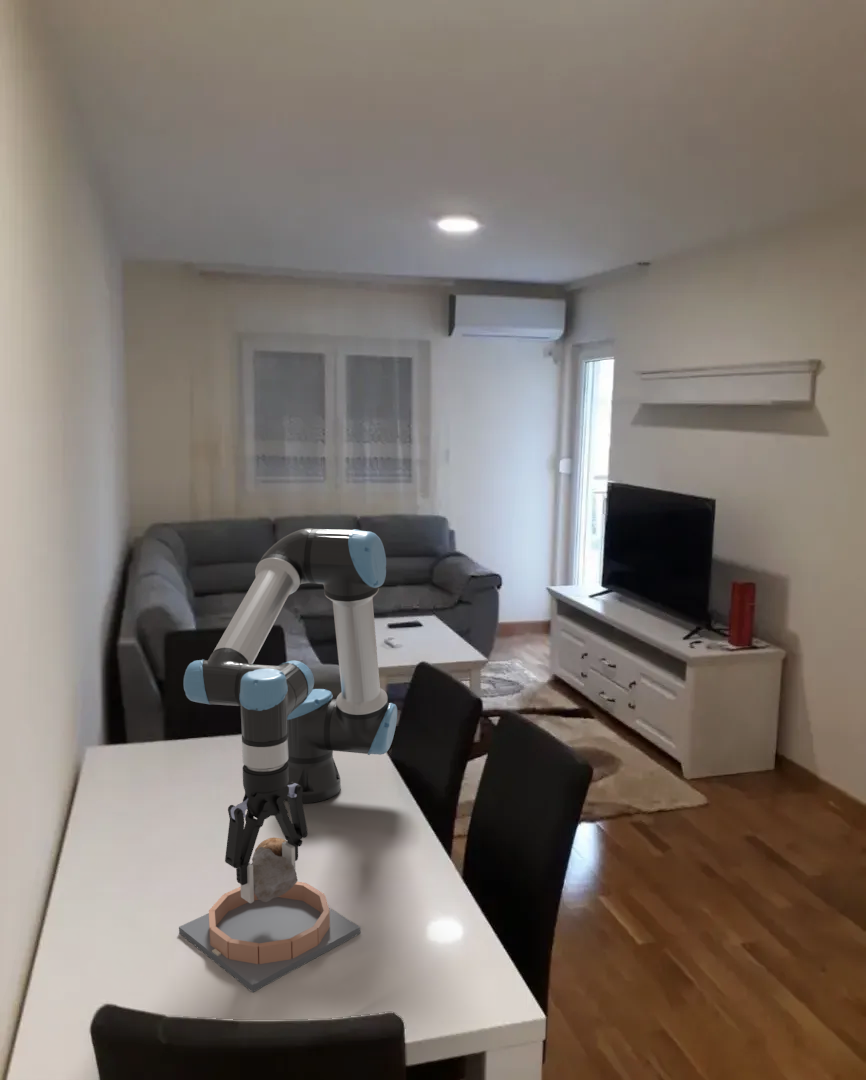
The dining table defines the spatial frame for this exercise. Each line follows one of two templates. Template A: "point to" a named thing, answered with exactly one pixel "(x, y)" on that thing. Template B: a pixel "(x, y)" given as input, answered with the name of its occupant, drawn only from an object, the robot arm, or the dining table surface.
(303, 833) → the robot arm
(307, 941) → the socket
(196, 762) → the dining table surface
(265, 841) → the mushroom
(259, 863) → the stone
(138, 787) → the dining table surface
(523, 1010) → the dining table surface
